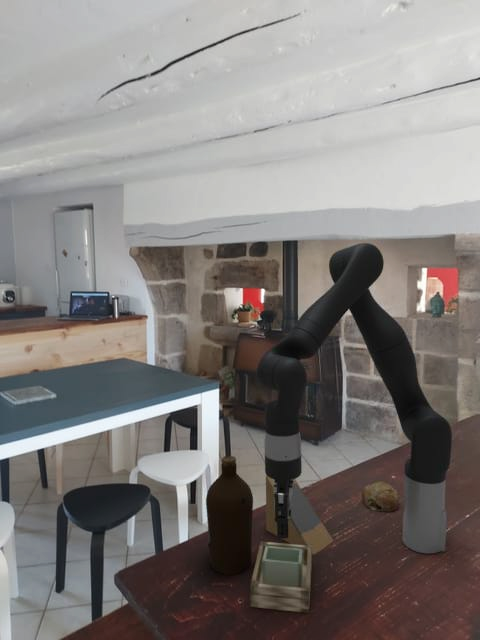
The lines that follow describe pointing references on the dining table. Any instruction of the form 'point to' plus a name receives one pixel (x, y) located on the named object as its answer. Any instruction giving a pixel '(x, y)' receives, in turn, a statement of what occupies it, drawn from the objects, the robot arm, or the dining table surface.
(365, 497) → the bread roll
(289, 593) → the big crate
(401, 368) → the robot arm
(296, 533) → the sandwich container
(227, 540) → the olive oil
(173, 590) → the dining table surface
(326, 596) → the dining table surface
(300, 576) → the box
